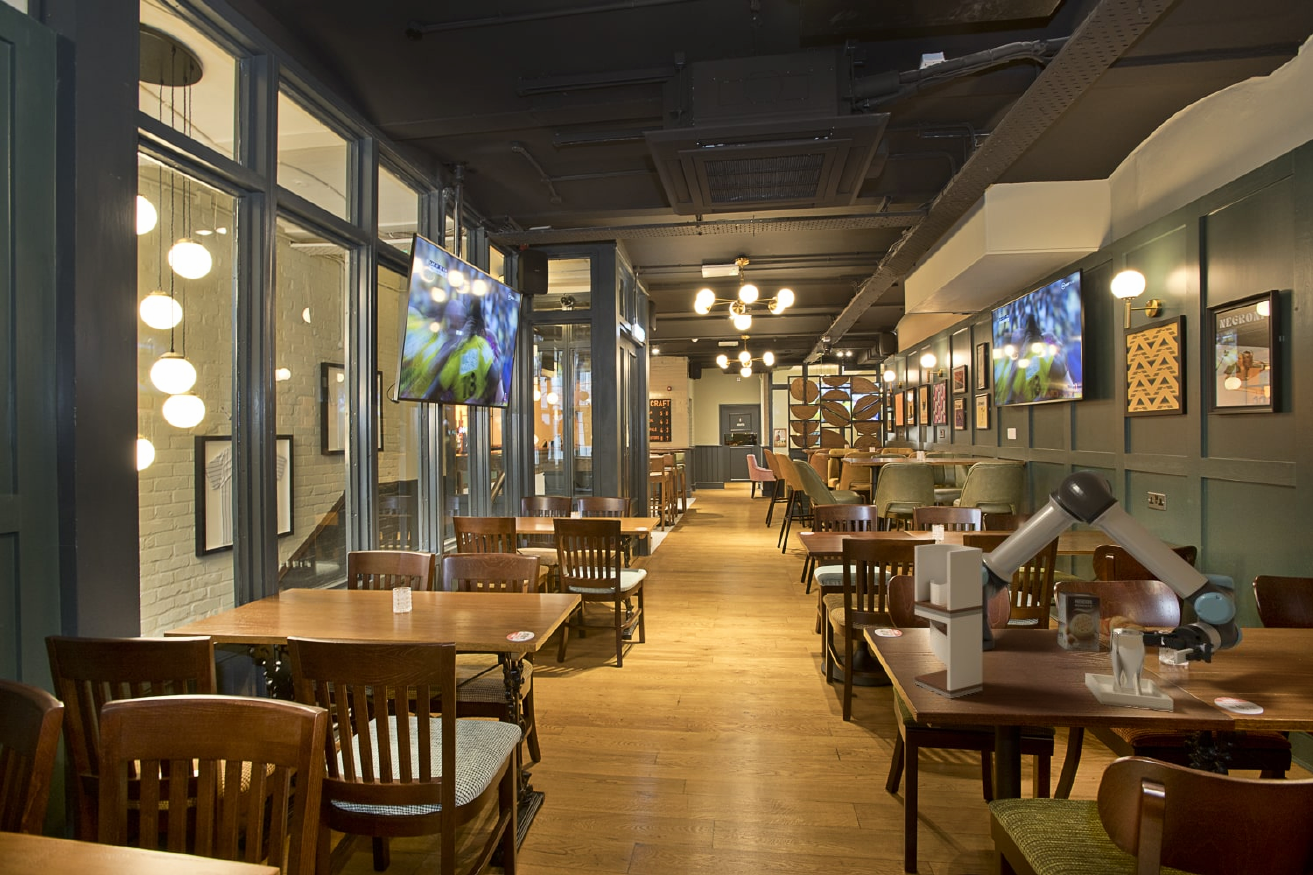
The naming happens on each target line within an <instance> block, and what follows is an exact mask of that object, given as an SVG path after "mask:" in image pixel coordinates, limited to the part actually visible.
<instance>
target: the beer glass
mask: <svg viewBox="0 0 1313 875" xmlns="http://www.w3.org/2000/svg"><path fill="white" fill-rule="evenodd" d="M1109 638H1110V639H1109V656H1110V660H1111V665H1112V671H1113V676H1114V683H1113V687H1112V692H1115V693H1124V694H1133V695H1143V693H1142V688H1141V679H1142V674H1143V669H1144V665H1145V661H1146V660H1145V659H1146V658H1145V657H1146V644H1145V641H1144V633H1142V632H1140V631H1137V630H1132V629H1126V628H1112V629H1111V635H1110V637H1109Z"/></svg>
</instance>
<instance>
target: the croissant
mask: <svg viewBox="0 0 1313 875" xmlns="http://www.w3.org/2000/svg"><path fill="white" fill-rule="evenodd" d="M1112 628H1126V629H1132V630H1137V631H1148V629H1147V628H1145V626H1144V625H1141V624H1137V623H1135V621H1133V620H1132V619H1130V618H1128V617H1126V616H1121V615H1114V616H1112V617H1107V618H1105V619H1102V618H1100V630H1099V633H1100V632H1101V633H1100V634H1102V633H1103V634H1102V635H1104V636H1106V635H1107V636H1106V637H1108V636H1110V635H1111V629H1112Z"/></svg>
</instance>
